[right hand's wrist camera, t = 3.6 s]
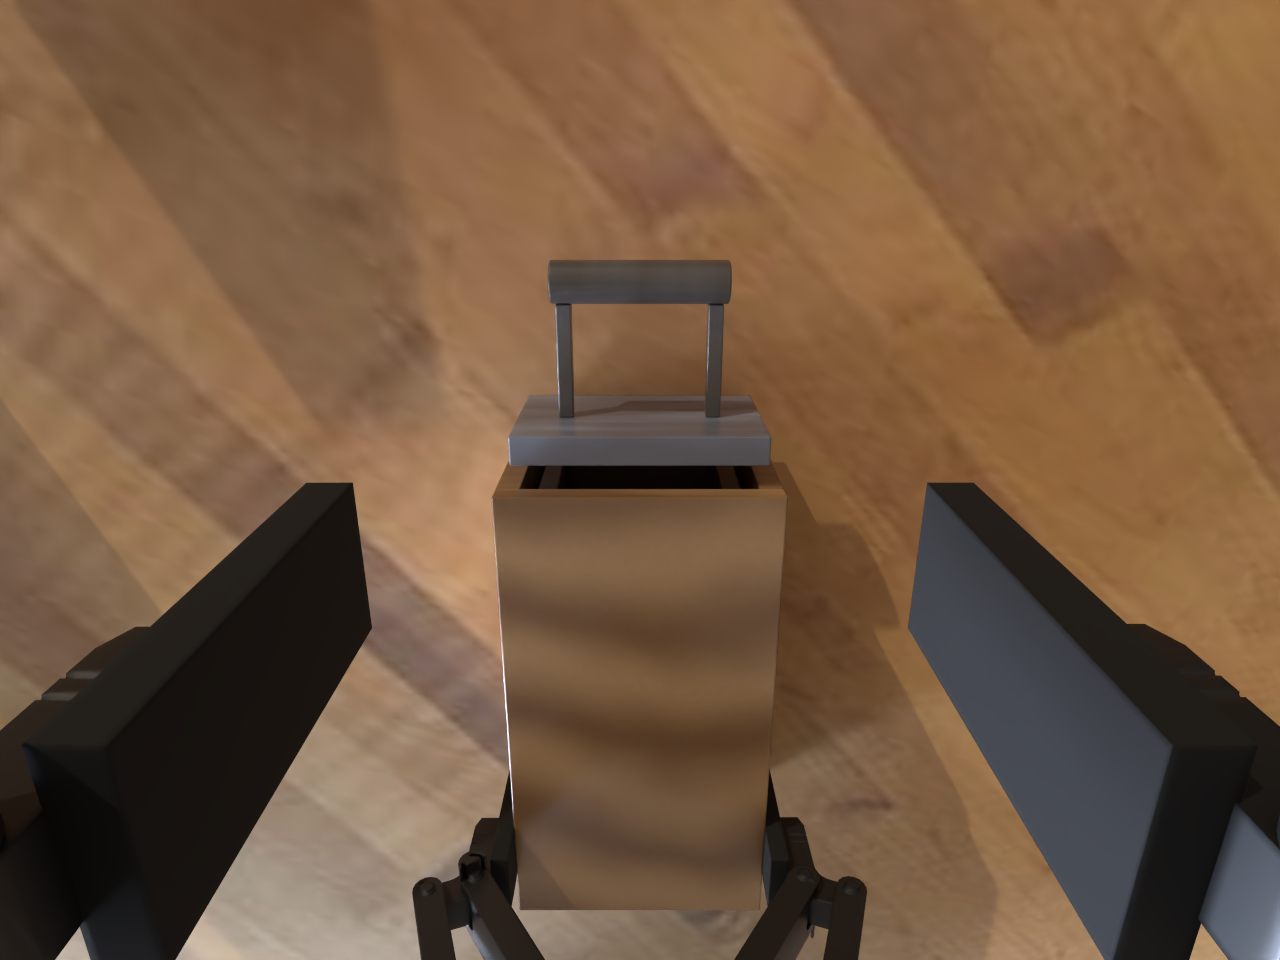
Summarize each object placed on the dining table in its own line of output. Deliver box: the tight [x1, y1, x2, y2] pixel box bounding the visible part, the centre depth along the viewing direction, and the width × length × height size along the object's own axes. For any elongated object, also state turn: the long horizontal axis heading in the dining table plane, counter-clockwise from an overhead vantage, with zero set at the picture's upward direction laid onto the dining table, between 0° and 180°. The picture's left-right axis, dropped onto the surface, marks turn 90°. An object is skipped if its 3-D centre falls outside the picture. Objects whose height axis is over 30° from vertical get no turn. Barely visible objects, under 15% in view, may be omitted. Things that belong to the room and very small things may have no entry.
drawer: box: [508, 260, 771, 489], centre depth 36 cm, size 26×10×6 cm, turn 0°
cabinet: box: [491, 460, 788, 910], centre depth 38 cm, size 21×11×8 cm, turn 0°
